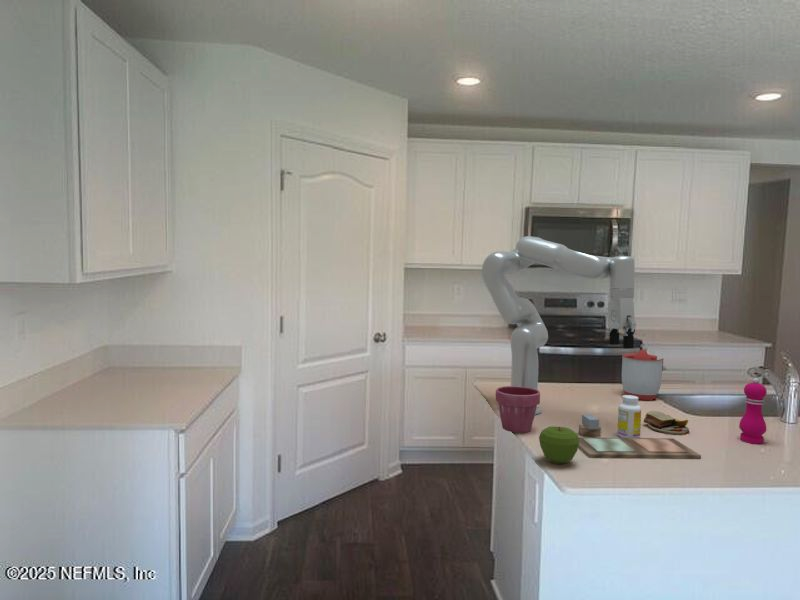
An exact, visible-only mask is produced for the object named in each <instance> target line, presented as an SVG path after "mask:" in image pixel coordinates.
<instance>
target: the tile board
mask: <svg viewBox="0 0 800 600" xmlns="http://www.w3.org/2000/svg"><path fill="white" fill-rule="evenodd" d="M578 437H579V436H578ZM579 440H580V441H579V445H578V448H579V450H580V451H581V452H582V453H584V454H585V455H586V456H587V457H588V458H590V459H679V460H680V459H685V460H686V459H687V460H689V459H695V460H698V459H699V460H701V459H702V455H701V454H700V453H698V452H696V451H695V450H693V449H691V448H689V447H688V446H687V445H685V444H683V443H681V442H680V441H678V440H677V439H675V438H670V437H669V438H667V437H666V438H665V437H663V438H662V437H661V438H659V437H639V438H622V437H582V436H580V437H579Z"/></svg>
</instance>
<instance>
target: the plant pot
mask: <svg viewBox="0 0 800 600" xmlns="http://www.w3.org/2000/svg"><path fill="white" fill-rule="evenodd" d="M495 401H496V403H497V402H498V404H497V405H498V411H499V416H500V421H501V426H502V429H503V430H505V431H507V432H509V433H510V432H511V433H515V434H522V433H523V434H524V433H525V434H526V433H529V432H531V430H532V426H533V422H534V419H535V416H536V415H535V411H536V407H537V406H538V405H539V404H540V403H541V392H540V391H539V390H536V389H533V388H528V387H519V386H511V385H508V386H507V385H505V386H499V387H497V388H496V389H495Z"/></svg>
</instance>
